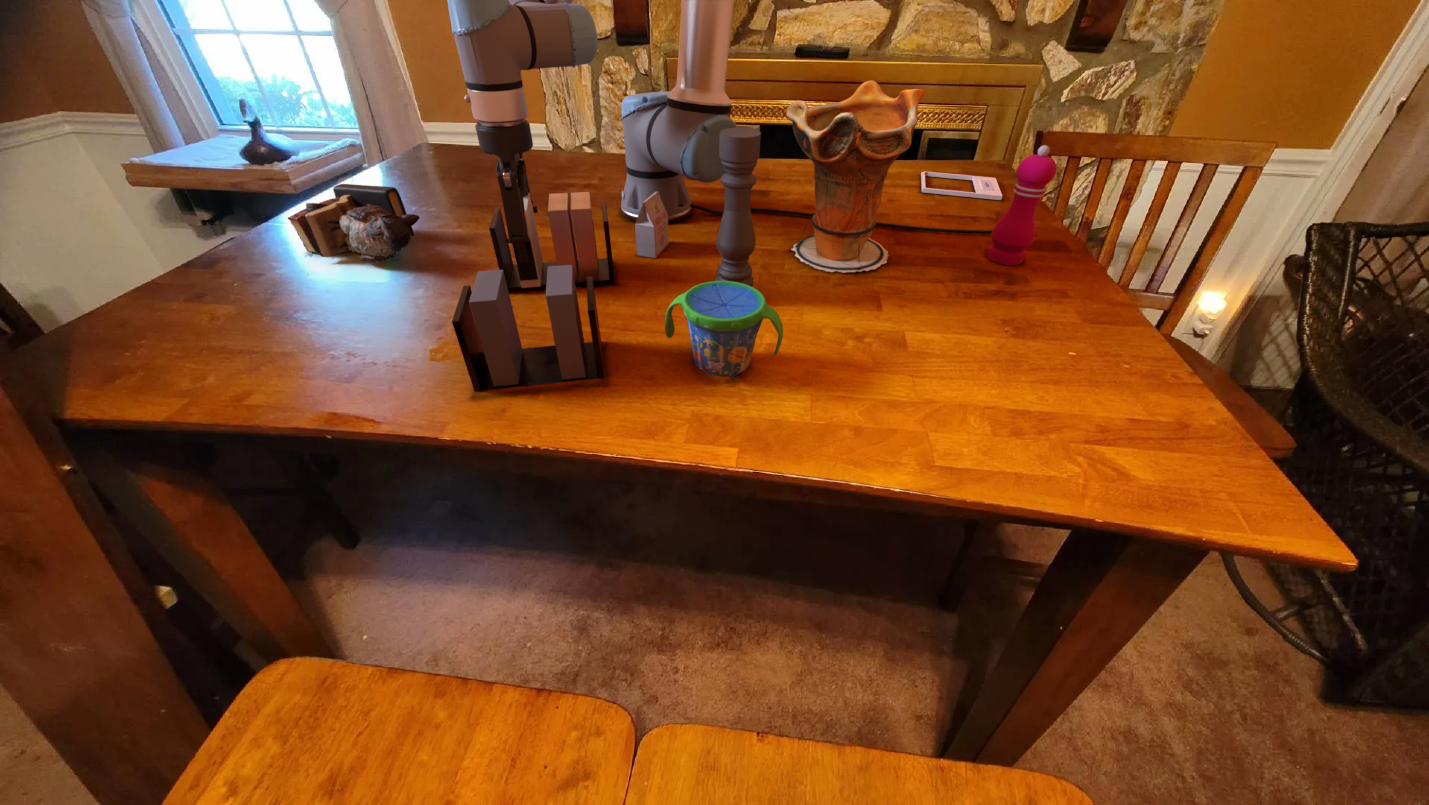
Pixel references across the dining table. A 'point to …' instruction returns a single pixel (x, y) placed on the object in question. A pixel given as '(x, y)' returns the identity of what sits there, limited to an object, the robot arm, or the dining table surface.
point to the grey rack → (524, 350)
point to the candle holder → (737, 203)
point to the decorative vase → (851, 171)
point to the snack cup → (723, 324)
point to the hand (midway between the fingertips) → (530, 264)
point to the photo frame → (982, 185)
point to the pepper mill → (1022, 209)
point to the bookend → (356, 223)
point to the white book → (532, 243)
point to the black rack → (562, 243)
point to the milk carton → (652, 227)
